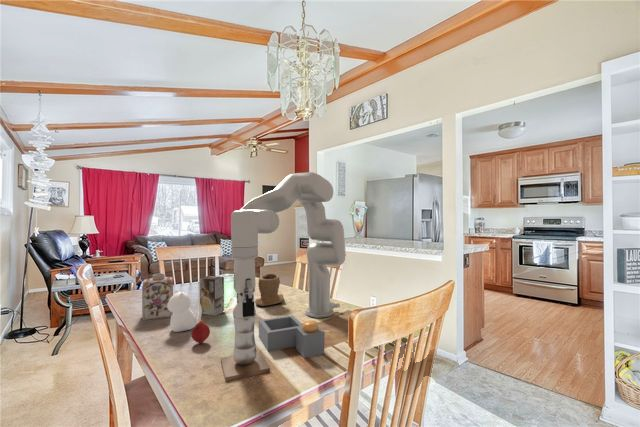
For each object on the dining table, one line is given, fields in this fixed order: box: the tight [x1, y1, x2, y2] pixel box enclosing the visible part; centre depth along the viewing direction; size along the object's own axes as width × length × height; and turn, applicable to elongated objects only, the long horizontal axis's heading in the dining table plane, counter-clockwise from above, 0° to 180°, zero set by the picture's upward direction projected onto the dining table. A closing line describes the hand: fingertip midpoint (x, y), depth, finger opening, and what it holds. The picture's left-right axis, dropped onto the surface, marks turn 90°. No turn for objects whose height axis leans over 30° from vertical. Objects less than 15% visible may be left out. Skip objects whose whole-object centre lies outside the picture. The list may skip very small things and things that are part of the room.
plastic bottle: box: [232, 293, 258, 365], centre depth 87 cm, size 6×7×20 cm
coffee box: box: [199, 275, 225, 317], centre depth 135 cm, size 9×6×16 cm
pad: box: [220, 350, 271, 382], centre depth 87 cm, size 12×12×1 cm
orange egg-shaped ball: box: [301, 319, 319, 332], centre depth 96 cm, size 5×5×6 cm
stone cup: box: [254, 272, 286, 307], centre depth 148 cm, size 15×12×15 cm
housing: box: [258, 314, 325, 359], centre depth 101 cm, size 16×22×7 cm
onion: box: [191, 319, 211, 345], centre depth 102 cm, size 6×6×8 cm
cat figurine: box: [167, 289, 203, 333], centre depth 116 cm, size 9×12×15 cm
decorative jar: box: [141, 272, 174, 321], centre depth 132 cm, size 12×12×18 cm
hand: (245, 310), depth 87 cm, fingers open, 9 cm apart
